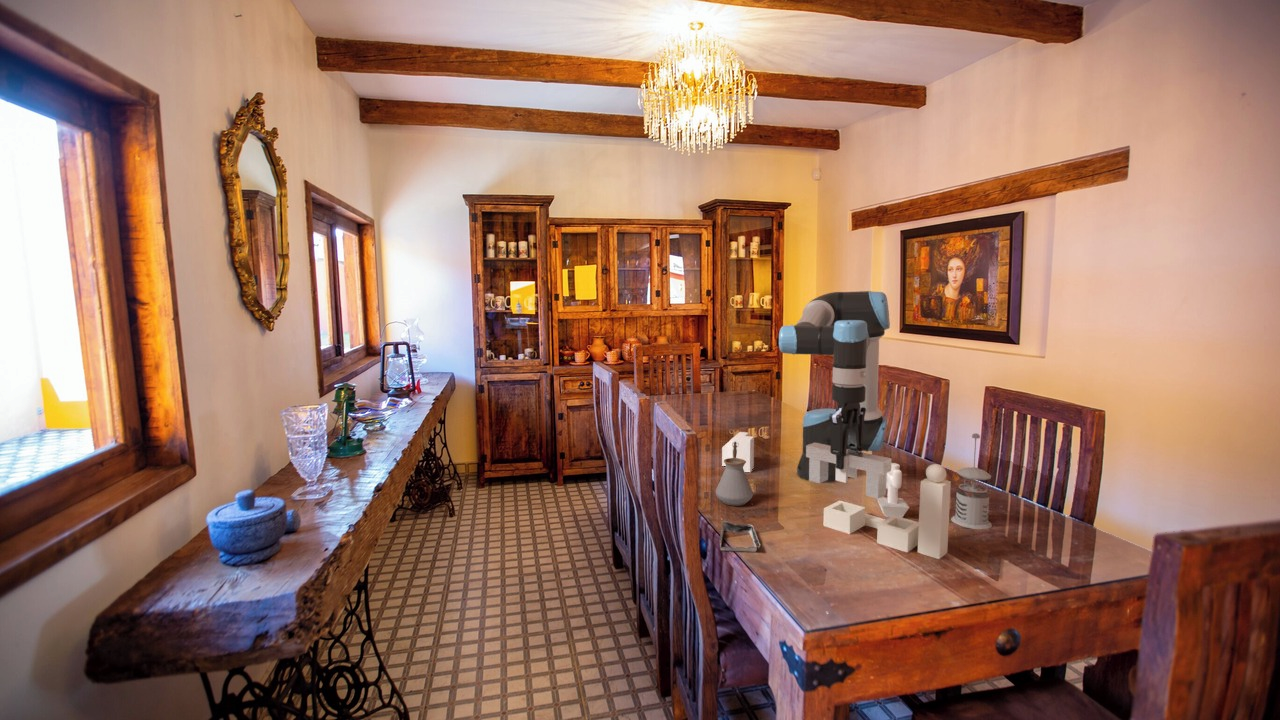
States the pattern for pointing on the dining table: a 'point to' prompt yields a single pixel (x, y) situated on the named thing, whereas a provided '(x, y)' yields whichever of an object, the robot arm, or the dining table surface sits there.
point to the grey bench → (859, 460)
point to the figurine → (893, 494)
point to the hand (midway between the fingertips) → (846, 478)
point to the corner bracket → (740, 450)
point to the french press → (972, 499)
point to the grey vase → (734, 482)
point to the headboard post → (900, 530)
